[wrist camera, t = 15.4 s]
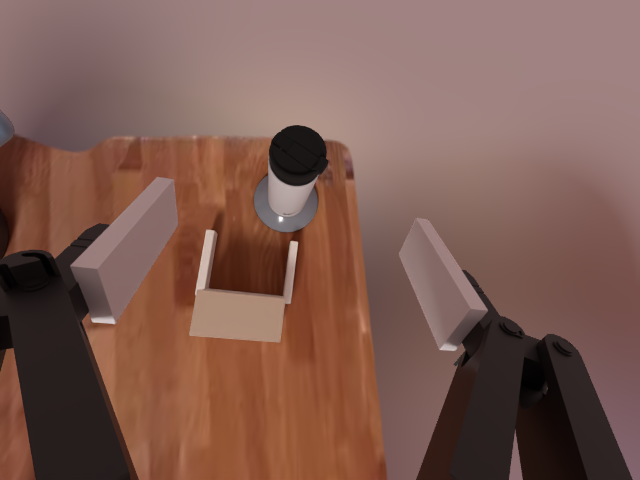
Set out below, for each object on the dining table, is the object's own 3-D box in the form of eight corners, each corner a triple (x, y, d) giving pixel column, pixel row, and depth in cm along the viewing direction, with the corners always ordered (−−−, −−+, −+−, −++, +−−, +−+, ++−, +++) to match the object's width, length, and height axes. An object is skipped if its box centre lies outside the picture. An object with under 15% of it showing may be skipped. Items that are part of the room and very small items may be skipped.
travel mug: (292, 226, 49) (309, 190, 30) (260, 203, 49) (256, 152, 29) (312, 198, 50) (341, 146, 31) (282, 176, 50) (291, 109, 31)
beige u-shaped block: (210, 232, 47) (199, 223, 40) (296, 244, 50) (301, 237, 42) (193, 326, 45) (179, 334, 37) (285, 333, 47) (288, 343, 40)
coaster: (242, 187, 49) (242, 185, 49) (299, 162, 52) (299, 160, 51) (272, 243, 49) (272, 242, 48) (327, 215, 51) (328, 214, 51)
